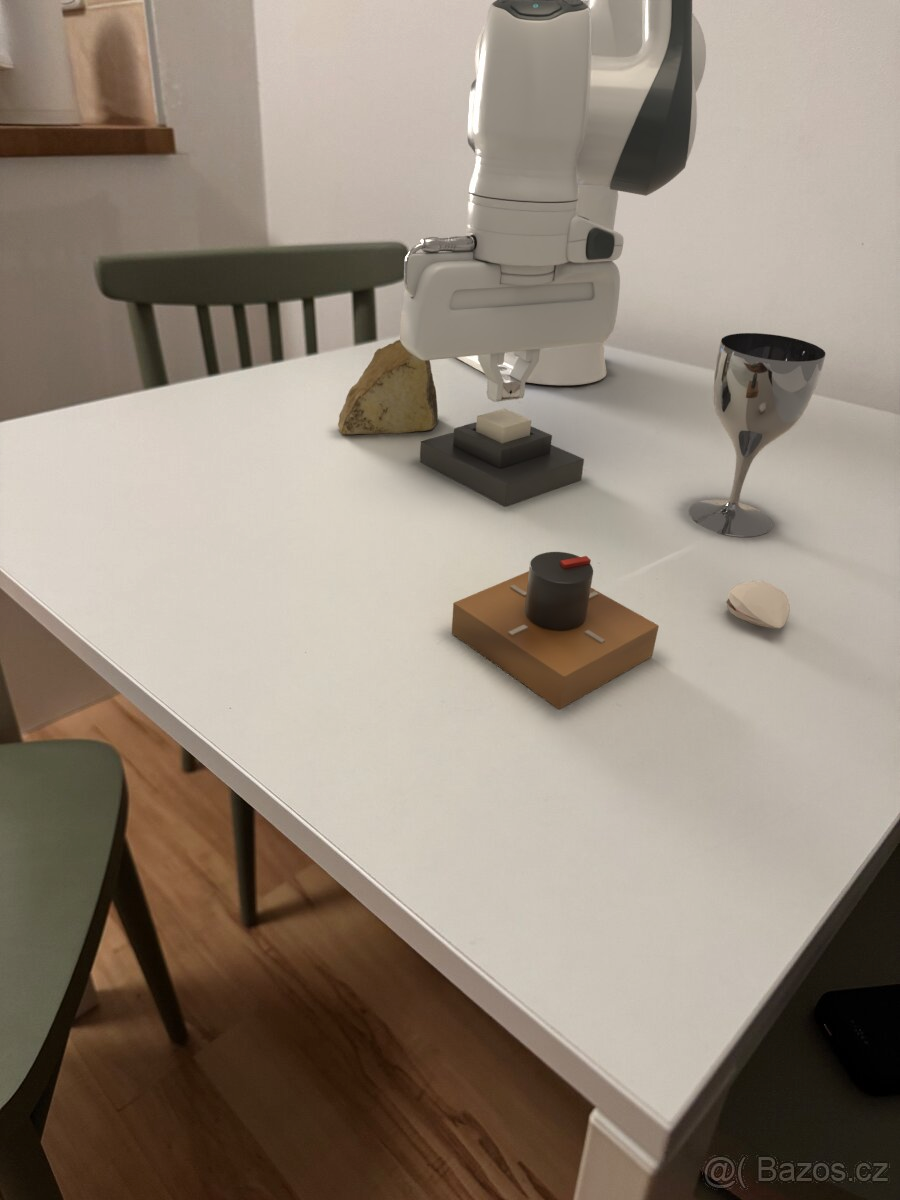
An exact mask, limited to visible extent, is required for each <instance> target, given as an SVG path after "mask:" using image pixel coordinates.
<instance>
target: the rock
mask: <svg viewBox="0 0 900 1200" xmlns="http://www.w3.org/2000/svg"><path fill="white" fill-rule="evenodd" d="M438 413H439V411H438V399H437V390H436V386H435V382H434V377H433V372H432V364H431V360H426V361H424V360H421V359H419V358H417V357H415V356H413V355H412V354H410V353H409V352H408V351H407V350H406V349H405V348H404V346H403V345H402V343H401V341H400V339H397V340H395V341H394V342H392V343H389V344H387V345H386V346H383V347H381V348H378V349H376V351H375V352H374V354H373V357H372V359H371V360H370V363H368V365H367V367H366V368H365V369H364V371H363V372H362V375H361V376H360V377H359V378H358V381H357V382H356V383H355V384H354V385H352V387H351V388H349V391H348V393H347V395H346V397H345V402H344V404H343V407H342V409H341V411H340V413H339V415H338V422H337V427H338V429H339V432H340V434H341V435H377V434H406V433H413V432H425V431H431V430H433V429H434V428H435V427H436V426H437V425H438V419H439V418H438V417H439V414H438Z"/></svg>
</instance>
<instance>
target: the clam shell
mask: <svg viewBox="0 0 900 1200" xmlns="http://www.w3.org/2000/svg"><path fill="white" fill-rule="evenodd" d="M790 606H791V605H790V601H789V597H788V595H787V593H786V592H784V591H783V590H782V589H780V588H778V587H777V586H775V585H774V584H772V583H768V582H765V581H756V580H750V581H748V582H741V583H740V584H738V585H735V586H734V587H732V588H731V589H730V591H729V593H728V595H727V600H726V607H727V609H728V611H729V613H731V614H732V615H733V616H735V617H736V618H738V619H741V620H742V621H745V622H747V623H750V624H752V625H756V626H759V627H764V628H765V627H766V628H771V629H781V628H782V627H783V626H785V624H786V622H787V620H788V618H789V616H790V611H791V607H790Z"/></svg>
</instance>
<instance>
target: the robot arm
mask: <svg viewBox="0 0 900 1200" xmlns="http://www.w3.org/2000/svg"><path fill="white" fill-rule="evenodd" d="M706 48H707V47H706V40H705V35H704V32H703V30H702V27H701V24H700V22H699V21H698V19H697V17H696V15H695V14H694V13H693V0H495V1H493V2H492V3H491V4H490V5H489V8H488V10H487V15H486V19H485V23H484V24H483V26H482V29H481V30H480V32H479V36H478V38H477V42H476V46H475V50H474V51H475V52H474V72H475V79H474V80H473V81H472V83H471V85H470V91H469V103H468V118H467V119H468V121H467V143H468V146H469V147H470V149H471V150H472V151H473V152H474V154H475V158H474V159H475V160H474V166H473V172H472V174H471V177H470V181H469V185H468V194H467V212H466V228H465V235H459V236H457V235H455V236H450V237H438V236H428V237H425V238H422V239H421V240H420V243H417V244H416V245H414V246H413V247H412V248H411V249H410V250H409V251H408V253H407V254H406V256H405V257H404V263H403V265H404V266H403V268H404V269H403V285H404V294H403V300H402V306H401V314H400V322H399V323H400V324H399V340H400V341H401V343H402V345H403V346H404V348H405V349H406V350H407V351H408V352H409V353H410V354H412V355H413V356H415V357H417V358H419V359H421V360H424V361H426V360H430V361H435V360H436V361H437V360H446V359H454V358H455V359H458V360H460V361H461V362H463V363H464V364H466V365H469V366H470V367H472V368H473V369H476V370H477V371H479V372H480V373H483V374H484V375H485V377H486V379H487V385H486V387H487V388H486V396H487V398H488V399H489V400H490V401H492V402H494V403H499V402H505V401H512V400H513V401H515V400H520V399H523V398H524V396H525V389H526V383H529V384H537V385H544V386H545V385H547V386H580V385H586V384H587V385H588V384H592V383H596V382H598V381H601V380H602V379H604V378H605V377H606V376H607V373H608V371H607V366H606V357H605V342H606V341H608V340H607V339H608V338H610V336H611V334H612V333H613V331H614V329H615V326H616V321H617V316H618V315H617V314H618V307H619V299H620V287H621V276H620V274H621V273H620V271H619V270H620V269H619V268H618V266H617V264H616V263H615V262H614V261H617V260H618V259H620V257H621V255H622V252H623V248H624V236H623V235H622V234H621V233H619V232H618V231H617V230H614V229H615V222H616V216H617V210H618V209H617V208H618V200H619V192H624V193H628V194H635V195H640V196H645V197H647V196H648V195H651V194H653V193H655V192H656V191H658V190H660V189H661V188H663V187H664V186H666V185H667V184H668V183H670V182H671V181H672V180H674V179H675V178H676V177H677V176H678V175H679V174H680V173H681V172H683V171H684V169H685V168H686V167H687V162H688V160H689V157H690V155H691V153H692V149H693V147H694V142H695V138H696V134H697V124H698V104H697V92H698V90H699V88H700V86H701V83H702V80H703V78H704V74H705V70H706V63H707V49H706ZM420 250H421V251H422V252H418V251H420Z"/></svg>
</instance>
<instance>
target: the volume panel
mask: <svg viewBox="0 0 900 1200" xmlns="http://www.w3.org/2000/svg"><path fill="white" fill-rule="evenodd" d="M528 576H529V570H528V571H526V572H524V573H521V574H518V575H517V576H514V577H511V578H509V579H507V580H504V581H502V582H500V583H497V584H495V585H492V586H489V587H487V588H485V589H482V590H480V591H478V592H475V593H473V594H471V595H469V596H467V597H464V598H461V599H458V600H456V601H454V602H453V603H452V604H453V605H452V619H451V620H452V621H451V634H452V635H453V636H454V637H456V638H457V639H459V640H460V641H461V642H463V643H464V644H465V645H467V646H468V647H470V648H471V649H473V650H474V651H476V652H477V653H479V655H481V656H483V657H484V658H486V659H487V660H488V661H490V662H491V663H493V664H494V665H496V666H497V667H498V668H500V669H501V670H503V671H504V672H505V673H507V674H508V675H510V676H511V677H513V678H514V679H516V680H517V681H518V682H520V683H521V684H522V685H524V686H525V687H527V688H528V689H530V690H531V691H532V692H534V693H535V694H537V695H539V697H541V698H542V699H544V700H545V701H547V702H548V703H549V704H550V705H552V706H554V707H555V708H556V709H558V710H561V709H563V708H564V707H566V706H568V705H569V704H572V703H573V702H575V701H576V700H578V699H580V698H582V697H584V696H585V695H587V694H589V693H591V692H592V691H595V690H596V689H598V688H599V687H601V686H603V685H605V684H606V683H608V682H610V681H612V680H613V679H615V678H618V677H619V676H621V675H622V674H624V673H626V672H628V671H629V670H631V669H632V668H635V667H636V666H639V665H640V664H642V663H643V662H645V661H647V660H648V659H651V658H652V657H653V654H654V649H655V645H656V640H657V636H658V631H659V625H658V624H657V623H655V622H653V621H652V620H650V619H648V618H646V617H644V616H642V615H641V614H639V613H637V612H635V611H634V610H632V609H630V608H628V607H627V606H625V605H623V604H621V603H619V602H618V601H616V600H614V599H613V598H610V597H609V596H608V595H605V594H603V593H601V592H600V591H598V590H596V589H595V588H592V587H591V589H590V595H589V602H588V608H587V614H586V619H585V621H584V622H583V623H582V624H581V625H580V626H578V627H576V628H573V629H568V630H553V629H547V628H544V627H541V626H539V625H536V624H535V623H533V622H532V621H530V620H529V619H528V617H527V616H526V614H525V602H526V593H527V585H528Z"/></svg>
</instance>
